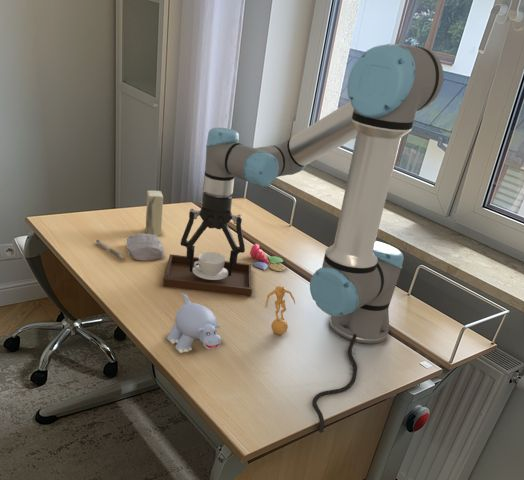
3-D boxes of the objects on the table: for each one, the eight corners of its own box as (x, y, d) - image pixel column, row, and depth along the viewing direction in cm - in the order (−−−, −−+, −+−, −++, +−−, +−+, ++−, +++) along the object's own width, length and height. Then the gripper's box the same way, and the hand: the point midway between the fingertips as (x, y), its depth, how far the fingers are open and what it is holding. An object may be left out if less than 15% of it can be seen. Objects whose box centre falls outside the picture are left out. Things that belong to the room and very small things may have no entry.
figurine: (267, 339, 131) (275, 296, 125) (256, 326, 136) (263, 283, 129) (296, 335, 135) (305, 292, 128) (284, 322, 139) (293, 280, 133)
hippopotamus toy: (191, 367, 118) (195, 330, 112) (160, 332, 127) (162, 296, 122) (233, 356, 124) (239, 320, 118) (200, 323, 133) (204, 288, 128)
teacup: (219, 263, 158) (220, 248, 155) (234, 279, 151) (236, 263, 148) (186, 267, 153) (187, 251, 151) (200, 283, 146) (201, 267, 144)
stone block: (132, 266, 156) (166, 259, 159) (128, 251, 153) (163, 243, 156) (125, 250, 165) (157, 243, 168) (121, 235, 162) (155, 228, 165)
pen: (97, 242, 162) (97, 238, 161) (125, 261, 154) (125, 256, 154) (94, 243, 161) (94, 239, 160) (122, 262, 154) (122, 257, 153)
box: (145, 229, 175) (146, 189, 168) (159, 229, 176) (160, 190, 169) (147, 236, 171) (148, 195, 164) (161, 236, 172) (163, 196, 165)
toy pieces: (243, 265, 164) (245, 251, 161) (252, 251, 173) (254, 238, 170) (281, 274, 162) (284, 261, 160) (289, 260, 171) (291, 247, 169)
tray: (250, 296, 148) (251, 289, 147) (162, 286, 146) (163, 278, 144) (250, 271, 161) (251, 264, 160) (169, 261, 158) (170, 254, 157)
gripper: (261, 193, 144) (250, 270, 156) (175, 182, 142) (171, 261, 154) (261, 203, 138) (250, 282, 150) (171, 191, 135) (168, 273, 148)
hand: (210, 271), depth 152 cm, fingers closed on teacup, 10 cm apart
